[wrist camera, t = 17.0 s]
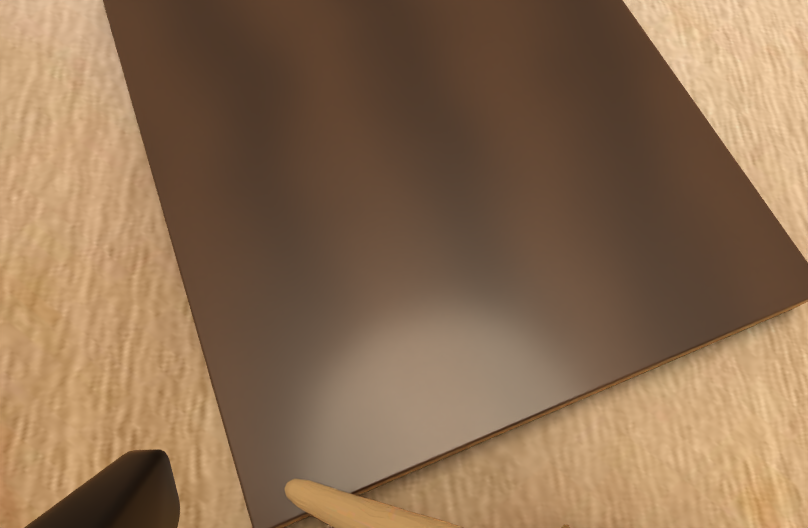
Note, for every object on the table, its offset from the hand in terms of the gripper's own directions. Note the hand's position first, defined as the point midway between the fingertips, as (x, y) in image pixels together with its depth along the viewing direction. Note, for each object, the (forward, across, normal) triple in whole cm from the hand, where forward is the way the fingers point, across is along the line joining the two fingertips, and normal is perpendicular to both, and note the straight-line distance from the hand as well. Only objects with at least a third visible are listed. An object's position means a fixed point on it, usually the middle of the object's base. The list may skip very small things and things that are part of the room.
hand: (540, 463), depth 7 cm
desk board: (+20, +1, 0) cm, 20 cm away
